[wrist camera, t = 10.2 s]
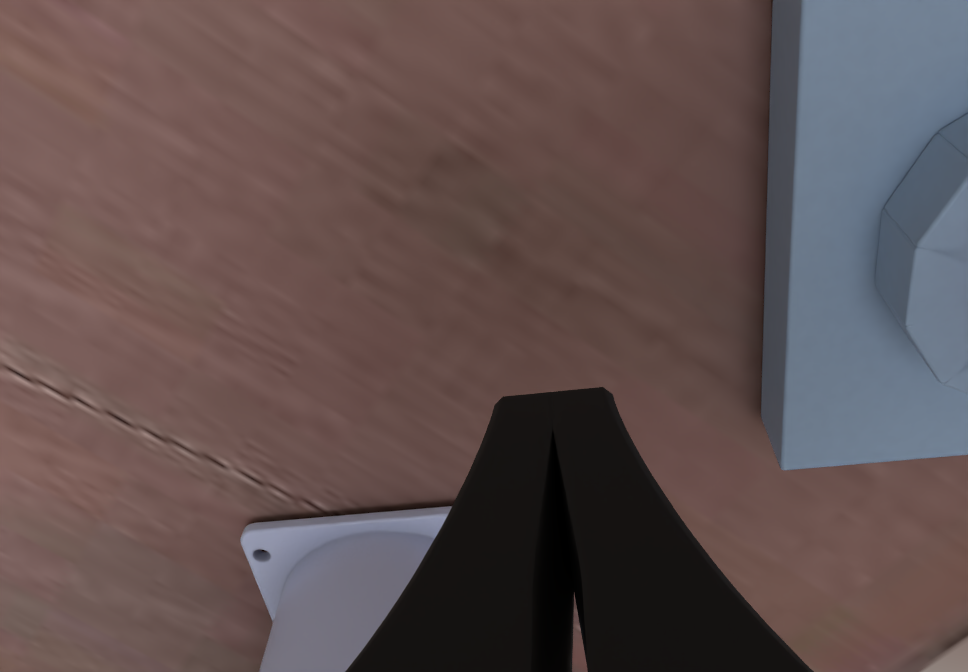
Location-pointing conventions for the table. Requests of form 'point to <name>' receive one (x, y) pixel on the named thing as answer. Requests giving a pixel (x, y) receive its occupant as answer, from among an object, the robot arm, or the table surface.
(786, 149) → the block
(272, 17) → the table surface
